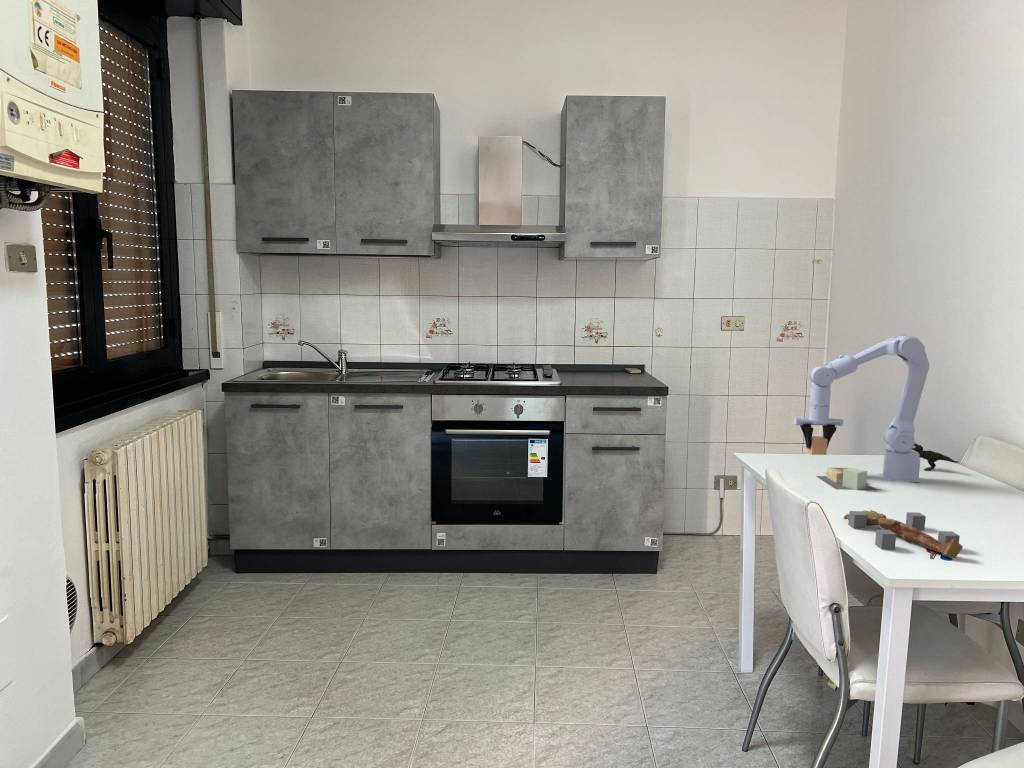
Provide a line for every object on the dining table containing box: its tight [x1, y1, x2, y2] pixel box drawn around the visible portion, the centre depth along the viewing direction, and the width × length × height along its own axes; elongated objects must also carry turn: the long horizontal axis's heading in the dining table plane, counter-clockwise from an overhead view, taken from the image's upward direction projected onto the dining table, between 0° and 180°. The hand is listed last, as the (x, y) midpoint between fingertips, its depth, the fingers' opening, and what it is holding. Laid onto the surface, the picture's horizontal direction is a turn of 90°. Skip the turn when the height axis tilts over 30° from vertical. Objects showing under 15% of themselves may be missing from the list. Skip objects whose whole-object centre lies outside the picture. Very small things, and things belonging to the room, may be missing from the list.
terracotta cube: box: [805, 435, 828, 456], centre depth 231 cm, size 4×4×5 cm
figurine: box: [843, 510, 964, 559], centre depth 173 cm, size 8×6×30 cm
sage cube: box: [842, 467, 868, 491], centre depth 215 cm, size 4×4×5 cm
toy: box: [911, 442, 960, 472], centre depth 238 cm, size 5×15×8 cm, turn 39°
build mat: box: [815, 475, 878, 491], centre depth 220 cm, size 12×15×1 cm
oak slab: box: [826, 467, 850, 483], centre depth 223 cm, size 7×7×3 cm
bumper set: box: [847, 510, 960, 550], centre depth 173 cm, size 17×17×4 cm
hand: (816, 448), depth 231 cm, fingers closed on terracotta cube, 4 cm apart
